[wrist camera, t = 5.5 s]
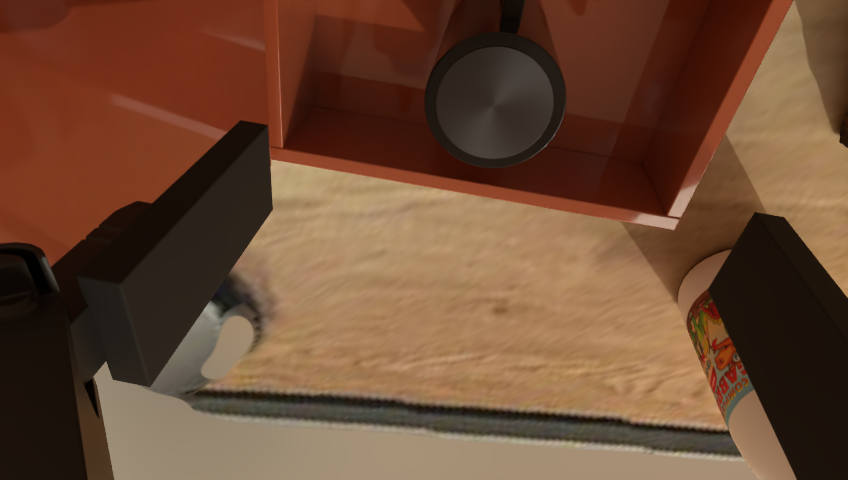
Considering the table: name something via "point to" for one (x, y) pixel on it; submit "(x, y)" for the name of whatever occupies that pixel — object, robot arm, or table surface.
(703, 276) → the milk bottle
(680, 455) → the table surface
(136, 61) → the lid
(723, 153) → the table surface
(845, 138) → the candle
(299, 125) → the reddish-brown box
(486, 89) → the silver-capped dark cylinder
